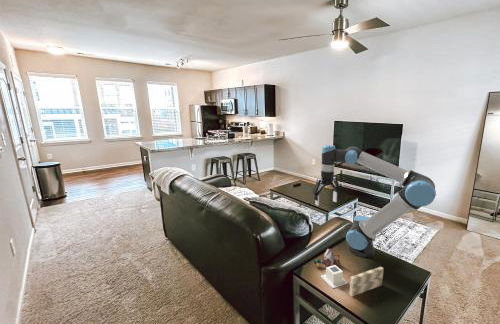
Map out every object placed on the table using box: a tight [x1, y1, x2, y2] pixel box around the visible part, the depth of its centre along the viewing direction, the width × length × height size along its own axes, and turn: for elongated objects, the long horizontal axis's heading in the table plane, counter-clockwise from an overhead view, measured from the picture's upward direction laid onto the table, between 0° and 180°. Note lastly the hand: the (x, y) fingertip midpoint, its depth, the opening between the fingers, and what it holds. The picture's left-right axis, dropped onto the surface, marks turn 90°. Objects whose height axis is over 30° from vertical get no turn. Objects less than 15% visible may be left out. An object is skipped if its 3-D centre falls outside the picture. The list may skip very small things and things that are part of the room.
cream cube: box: [325, 264, 344, 284], centre depth 126 cm, size 6×6×6 cm
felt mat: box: [320, 273, 349, 289], centre depth 127 cm, size 10×10×1 cm
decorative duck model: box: [313, 248, 341, 267], centre depth 141 cm, size 15×8×15 cm
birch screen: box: [349, 266, 385, 297], centre depth 118 cm, size 20×2×10 cm, turn 111°
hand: (326, 203), depth 147 cm, fingers open, 13 cm apart
